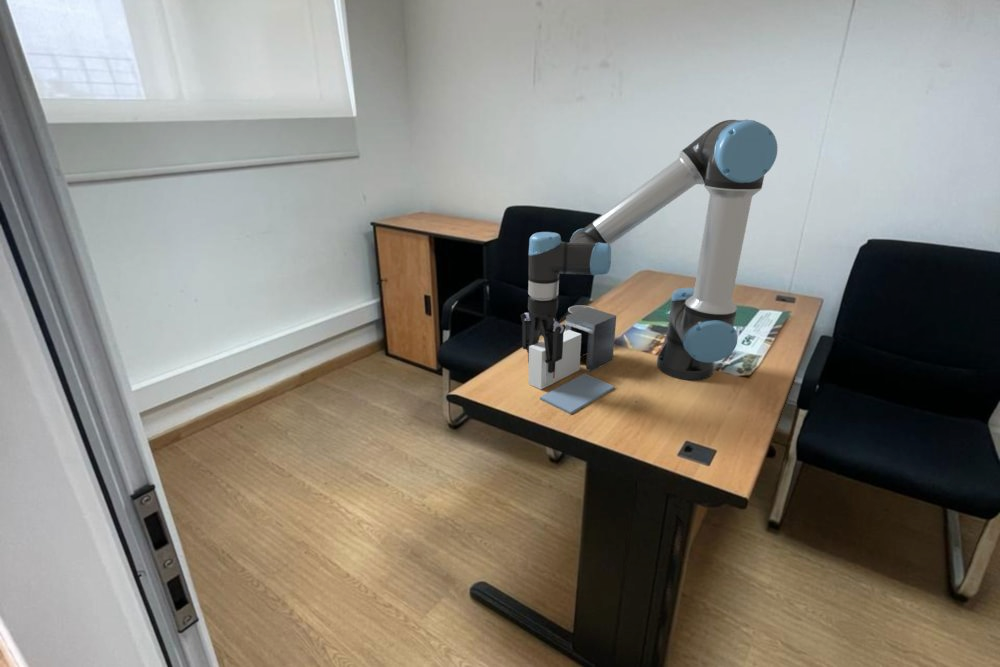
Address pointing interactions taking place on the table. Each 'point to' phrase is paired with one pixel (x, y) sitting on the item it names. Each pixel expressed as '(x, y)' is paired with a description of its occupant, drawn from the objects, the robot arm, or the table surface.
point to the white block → (562, 367)
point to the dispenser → (594, 335)
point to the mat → (577, 393)
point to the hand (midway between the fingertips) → (541, 378)
